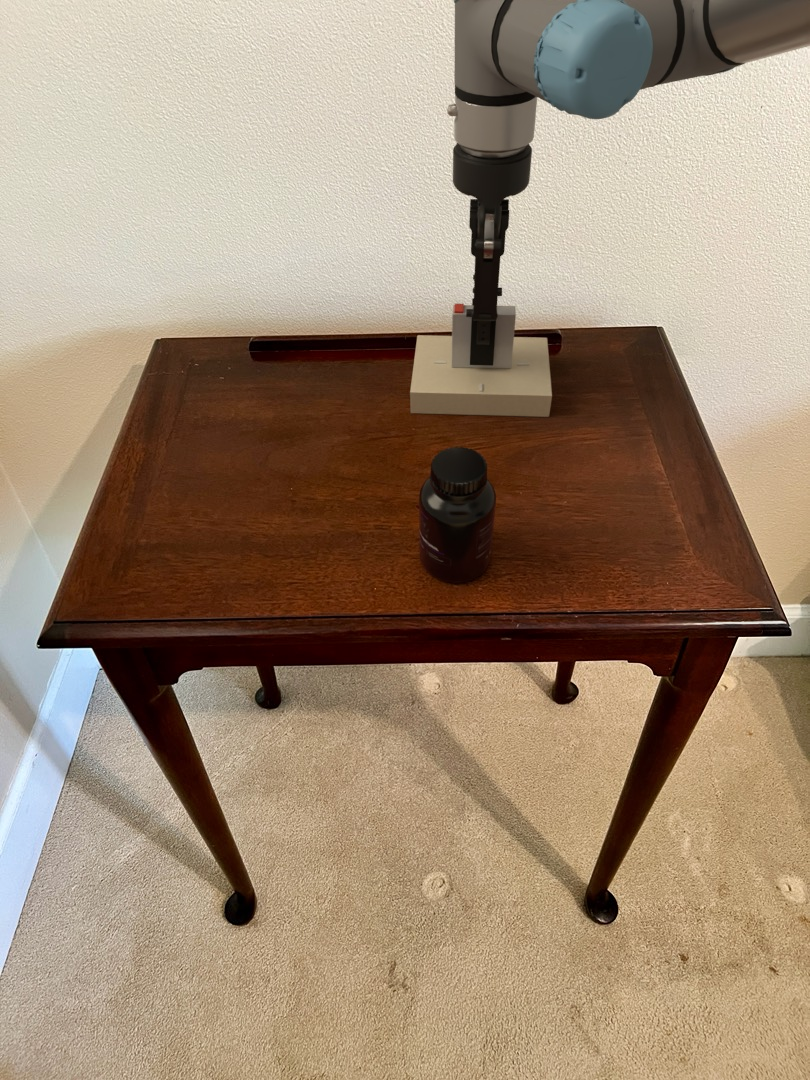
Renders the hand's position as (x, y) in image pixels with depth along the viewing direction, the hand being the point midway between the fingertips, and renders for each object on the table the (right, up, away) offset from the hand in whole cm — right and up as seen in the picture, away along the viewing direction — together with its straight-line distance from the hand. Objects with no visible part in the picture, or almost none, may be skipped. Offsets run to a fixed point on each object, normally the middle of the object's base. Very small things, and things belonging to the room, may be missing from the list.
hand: (481, 356), depth 89 cm
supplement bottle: (-4, -24, -16) cm, 29 cm away
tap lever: (0, -1, +1) cm, 1 cm away
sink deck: (0, -3, +3) cm, 4 cm away
